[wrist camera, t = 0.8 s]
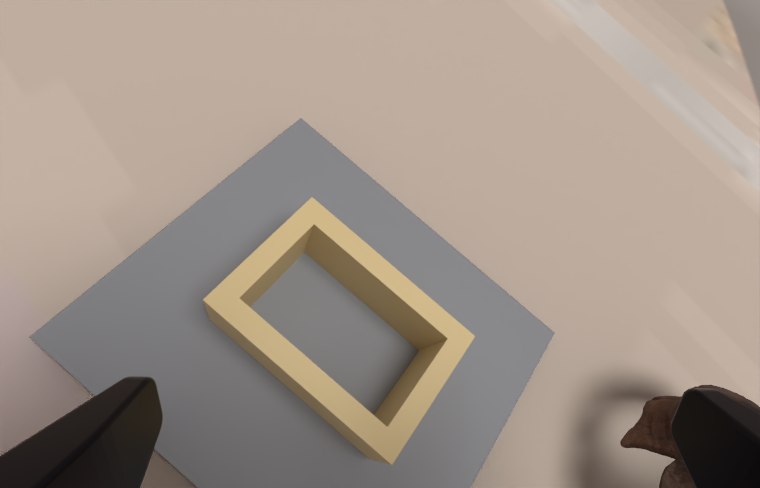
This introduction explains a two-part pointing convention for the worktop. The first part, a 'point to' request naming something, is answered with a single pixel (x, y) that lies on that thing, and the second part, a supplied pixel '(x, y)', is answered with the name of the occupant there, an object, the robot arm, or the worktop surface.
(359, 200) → the grey board with socket
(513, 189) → the worktop surface
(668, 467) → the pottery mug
